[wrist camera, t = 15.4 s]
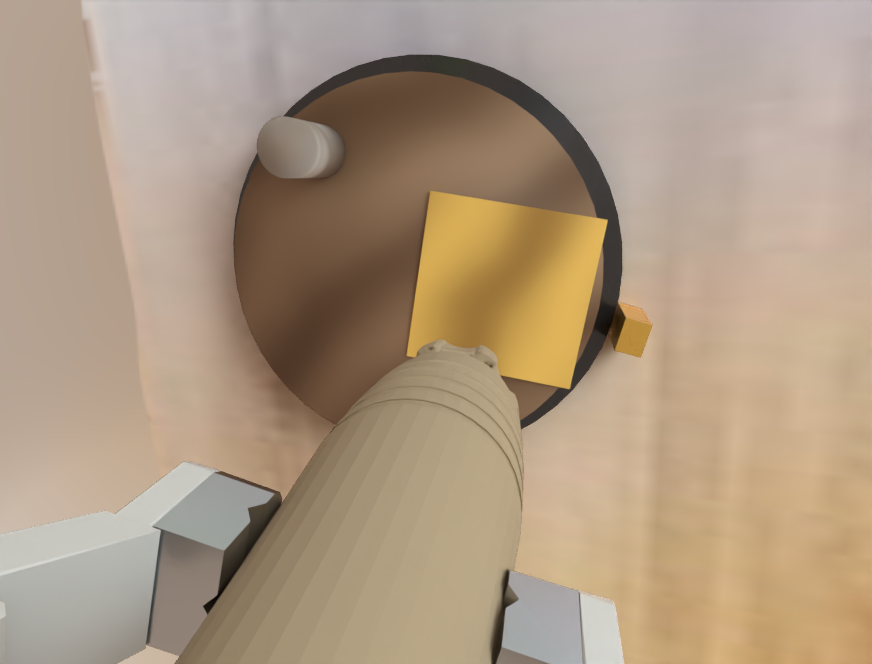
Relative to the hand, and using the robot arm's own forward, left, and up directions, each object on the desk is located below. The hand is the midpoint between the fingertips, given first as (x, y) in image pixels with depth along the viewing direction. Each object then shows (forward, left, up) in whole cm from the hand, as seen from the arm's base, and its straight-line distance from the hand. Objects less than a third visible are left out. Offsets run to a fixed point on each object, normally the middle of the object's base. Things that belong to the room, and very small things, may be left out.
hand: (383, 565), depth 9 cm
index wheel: (0, -4, -22) cm, 22 cm away
